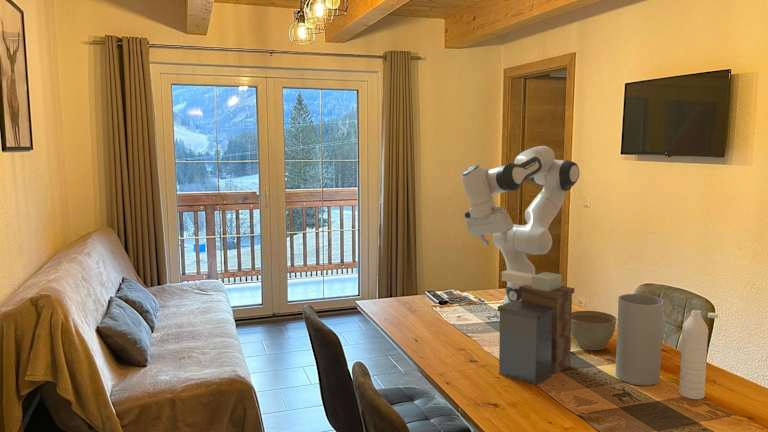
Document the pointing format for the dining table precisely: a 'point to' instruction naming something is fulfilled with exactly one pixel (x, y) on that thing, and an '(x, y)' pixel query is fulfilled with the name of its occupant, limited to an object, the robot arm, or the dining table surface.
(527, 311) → the dark grey box
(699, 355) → the water bottle
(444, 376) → the dining table surface
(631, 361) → the cylinder vase
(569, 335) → the tall stand
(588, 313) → the planter bowl
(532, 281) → the mallet
